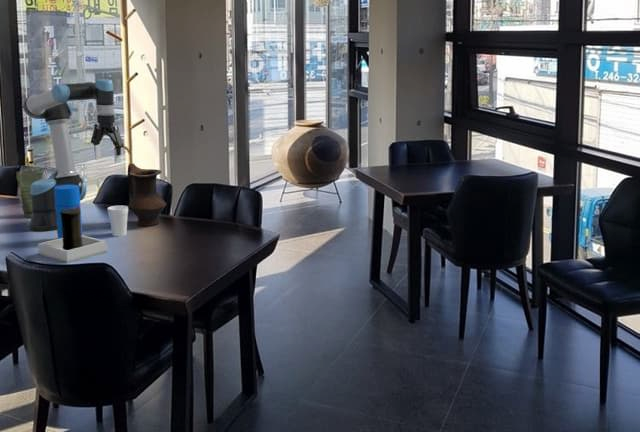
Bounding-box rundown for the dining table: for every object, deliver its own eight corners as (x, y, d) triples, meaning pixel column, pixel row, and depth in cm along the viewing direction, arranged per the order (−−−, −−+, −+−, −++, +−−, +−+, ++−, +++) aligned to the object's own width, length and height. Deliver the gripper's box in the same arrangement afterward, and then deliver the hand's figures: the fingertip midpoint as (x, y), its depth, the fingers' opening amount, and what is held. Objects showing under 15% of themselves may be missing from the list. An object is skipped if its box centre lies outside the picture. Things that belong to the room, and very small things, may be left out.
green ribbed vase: (18, 218, 383) (13, 170, 377) (30, 212, 394) (26, 166, 389) (38, 218, 381) (33, 171, 375) (50, 213, 393) (46, 167, 387)
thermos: (87, 238, 345) (83, 185, 339) (73, 243, 335) (68, 189, 329) (68, 236, 348) (64, 183, 342) (53, 241, 338) (48, 188, 333)
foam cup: (123, 237, 346) (122, 210, 343) (105, 236, 348) (103, 209, 345) (132, 232, 355) (131, 206, 352) (115, 231, 357) (113, 205, 354)
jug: (175, 222, 374) (172, 164, 367) (148, 230, 359) (145, 169, 352) (145, 217, 385) (142, 160, 378) (118, 224, 370) (114, 165, 363)
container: (75, 247, 326) (72, 207, 322) (88, 250, 321) (85, 210, 317) (57, 252, 319) (54, 211, 314) (71, 255, 314) (67, 214, 309)
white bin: (39, 254, 318) (38, 243, 317) (78, 244, 333) (77, 234, 332) (67, 263, 306) (66, 251, 305) (106, 252, 322) (106, 241, 321)
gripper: (81, 112, 337) (83, 158, 343) (117, 117, 323) (119, 165, 329) (94, 111, 343) (97, 156, 349) (130, 115, 329) (132, 162, 335)
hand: (107, 160), depth 339 cm, fingers open, 13 cm apart
